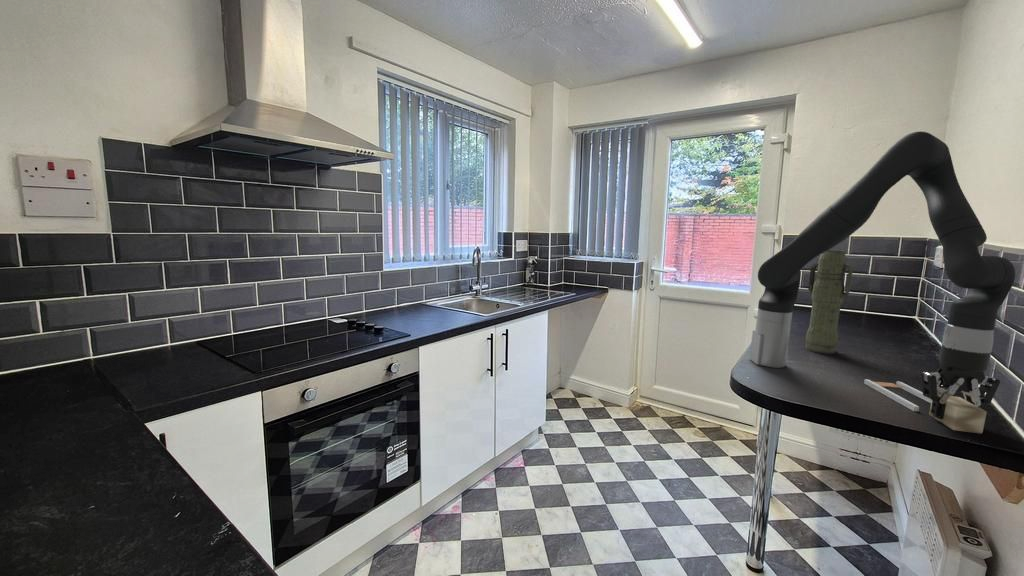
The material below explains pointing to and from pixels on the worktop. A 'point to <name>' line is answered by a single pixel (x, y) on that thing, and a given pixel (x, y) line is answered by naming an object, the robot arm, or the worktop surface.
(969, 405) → the beech block
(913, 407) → the channel
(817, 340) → the thermos
